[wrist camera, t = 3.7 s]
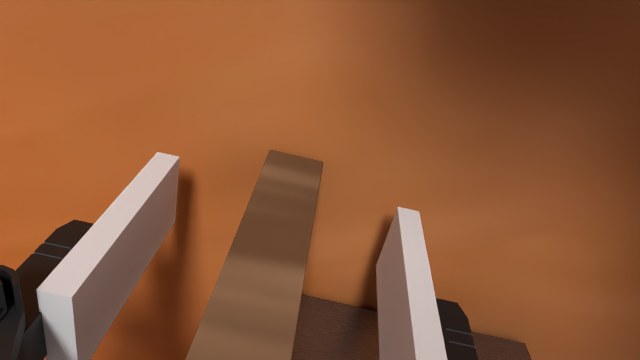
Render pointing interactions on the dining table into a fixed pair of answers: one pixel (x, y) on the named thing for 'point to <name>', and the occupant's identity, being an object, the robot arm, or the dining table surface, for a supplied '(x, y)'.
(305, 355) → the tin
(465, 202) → the dining table surface
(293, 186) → the curved brown wooden bar
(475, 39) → the dining table surface
